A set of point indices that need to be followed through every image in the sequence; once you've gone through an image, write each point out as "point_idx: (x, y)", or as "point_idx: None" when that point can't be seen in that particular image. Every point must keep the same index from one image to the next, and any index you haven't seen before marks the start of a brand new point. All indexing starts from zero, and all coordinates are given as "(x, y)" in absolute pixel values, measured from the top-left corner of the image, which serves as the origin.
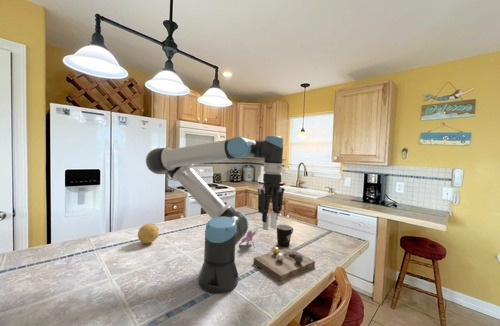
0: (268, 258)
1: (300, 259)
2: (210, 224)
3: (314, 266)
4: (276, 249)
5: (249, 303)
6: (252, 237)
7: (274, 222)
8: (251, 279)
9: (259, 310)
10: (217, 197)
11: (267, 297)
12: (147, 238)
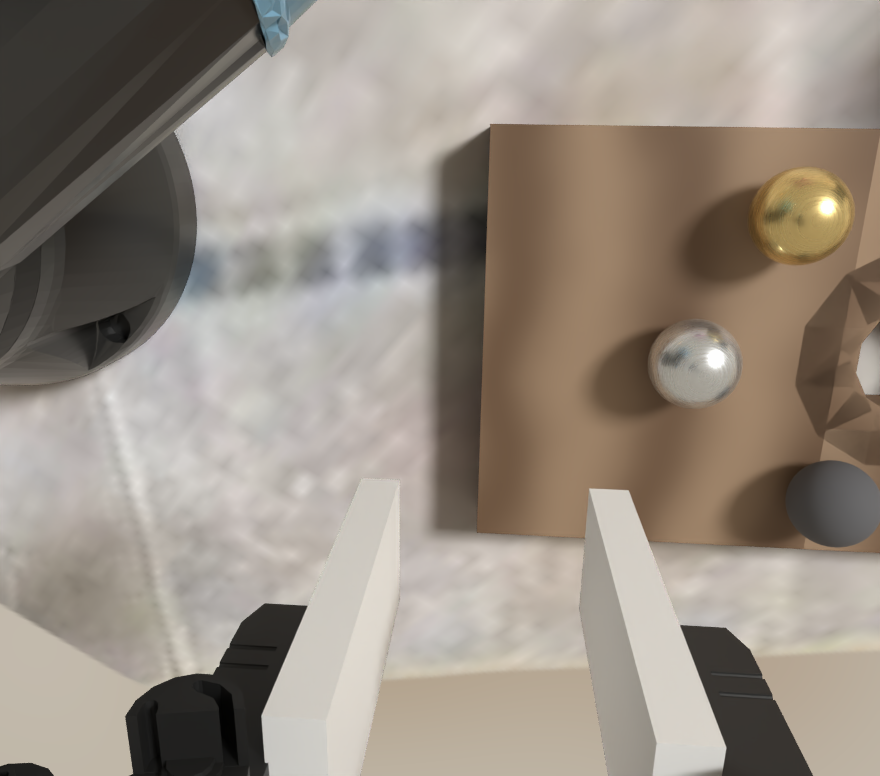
0: (624, 237)
1: (820, 543)
2: None
3: None
4: (786, 245)
5: (130, 541)
6: None
7: (594, 681)
8: (294, 347)
9: (154, 615)
10: None
11: (270, 567)
12: None
